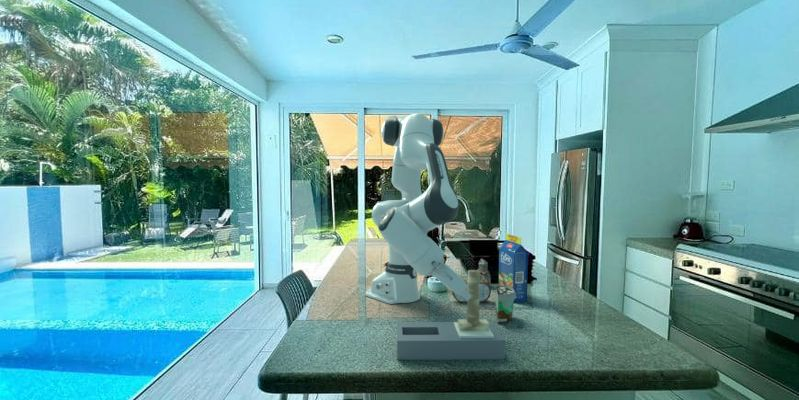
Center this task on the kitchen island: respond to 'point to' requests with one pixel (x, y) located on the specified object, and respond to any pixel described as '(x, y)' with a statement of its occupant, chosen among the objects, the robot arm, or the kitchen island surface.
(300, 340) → the kitchen island surface
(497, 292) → the food container
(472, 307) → the T-key
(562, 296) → the kitchen island surface
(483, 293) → the tin
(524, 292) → the blue food package
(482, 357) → the housing
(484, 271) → the figurine
